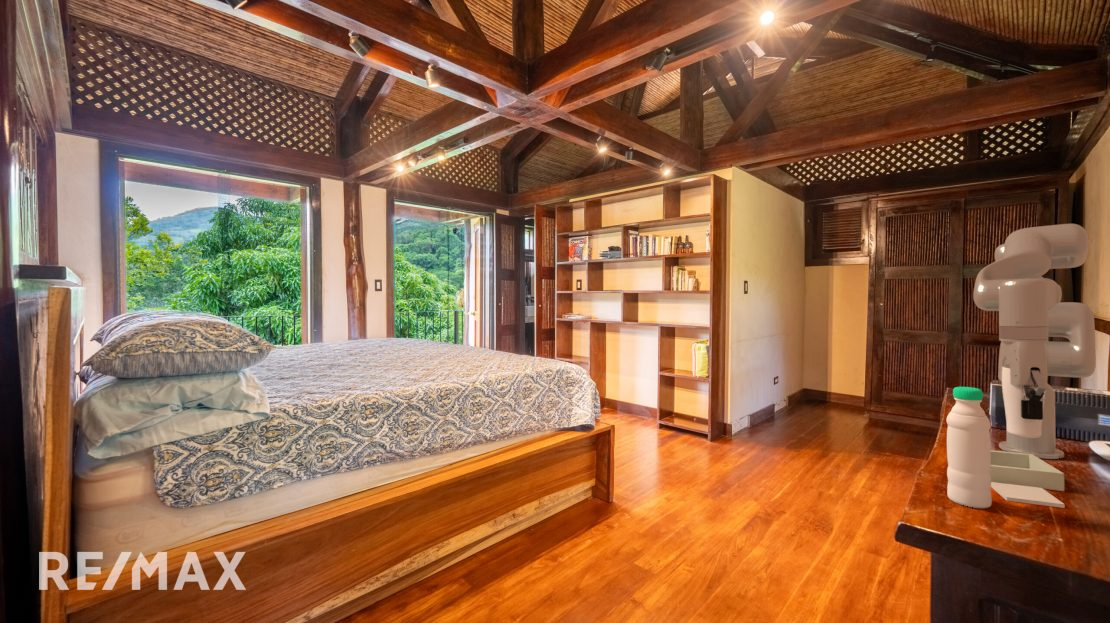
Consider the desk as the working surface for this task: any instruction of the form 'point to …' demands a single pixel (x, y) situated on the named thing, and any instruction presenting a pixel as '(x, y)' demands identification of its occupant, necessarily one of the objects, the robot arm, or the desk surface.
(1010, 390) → the drinking glass
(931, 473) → the desk surface
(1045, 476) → the beige square frame
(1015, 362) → the robot arm
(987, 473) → the water bottle
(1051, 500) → the ceramic tile
